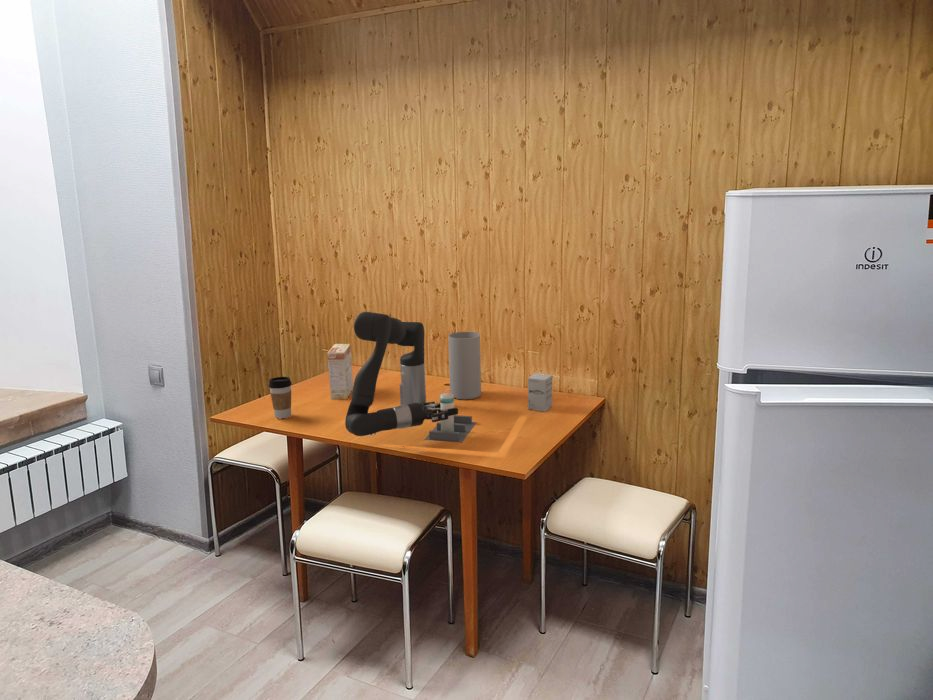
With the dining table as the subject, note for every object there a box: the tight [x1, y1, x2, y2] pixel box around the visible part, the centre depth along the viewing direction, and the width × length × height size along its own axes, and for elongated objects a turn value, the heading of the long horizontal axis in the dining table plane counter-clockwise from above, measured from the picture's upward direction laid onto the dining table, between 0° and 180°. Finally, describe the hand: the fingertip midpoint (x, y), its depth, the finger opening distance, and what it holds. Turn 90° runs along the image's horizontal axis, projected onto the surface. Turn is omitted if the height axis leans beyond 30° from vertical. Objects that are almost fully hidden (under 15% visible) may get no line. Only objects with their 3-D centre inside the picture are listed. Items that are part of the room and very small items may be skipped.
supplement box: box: [527, 372, 553, 413], centre depth 274 cm, size 7×7×13 cm
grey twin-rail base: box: [423, 414, 478, 443], centre depth 250 cm, size 13×20×4 cm, turn 165°
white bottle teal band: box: [439, 392, 455, 432], centre depth 244 cm, size 5×5×14 cm
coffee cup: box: [268, 376, 292, 419], centre depth 272 cm, size 8×8×15 cm
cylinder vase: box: [447, 331, 482, 401], centre depth 290 cm, size 12×12×25 cm
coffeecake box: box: [326, 343, 354, 400], centre depth 298 cm, size 15×7×20 cm, turn 178°
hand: (453, 408), depth 245 cm, fingers open, 6 cm apart
